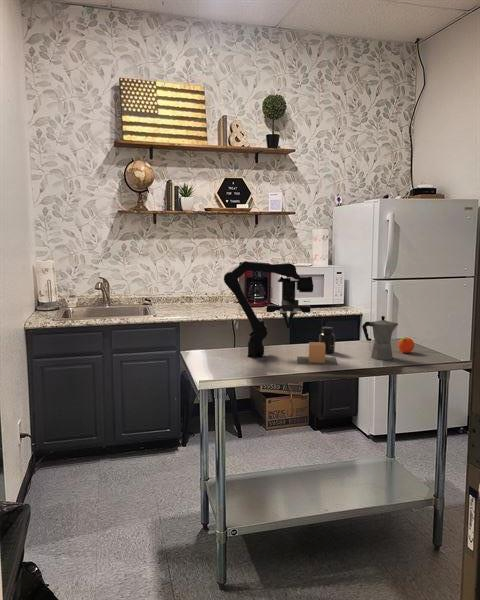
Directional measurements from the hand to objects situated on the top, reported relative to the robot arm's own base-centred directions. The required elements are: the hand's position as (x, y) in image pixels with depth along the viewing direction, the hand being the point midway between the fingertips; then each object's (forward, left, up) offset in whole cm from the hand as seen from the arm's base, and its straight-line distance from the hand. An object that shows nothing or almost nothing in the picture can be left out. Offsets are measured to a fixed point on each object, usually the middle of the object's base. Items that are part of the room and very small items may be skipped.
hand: (288, 328), depth 223 cm
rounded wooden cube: (+12, -13, -11) cm, 21 cm away
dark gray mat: (+12, -13, -12) cm, 21 cm away
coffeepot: (+39, 0, -12) cm, 41 cm away
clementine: (+52, +11, -12) cm, 54 cm away
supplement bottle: (+17, +4, -12) cm, 21 cm away
